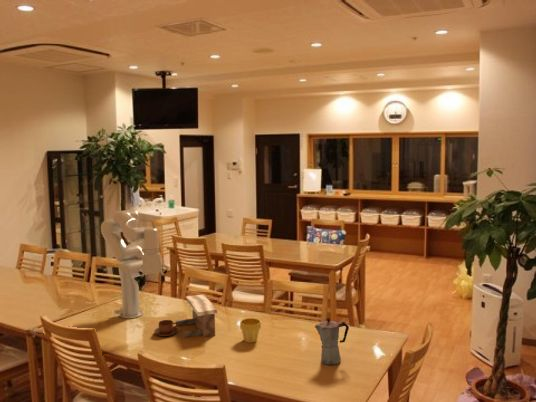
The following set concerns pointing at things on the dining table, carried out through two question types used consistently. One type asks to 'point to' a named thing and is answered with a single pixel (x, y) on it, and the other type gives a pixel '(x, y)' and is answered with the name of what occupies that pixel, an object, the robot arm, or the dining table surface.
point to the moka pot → (330, 340)
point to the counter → (200, 317)
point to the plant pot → (250, 329)
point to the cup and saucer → (166, 328)
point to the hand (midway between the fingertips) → (153, 282)
